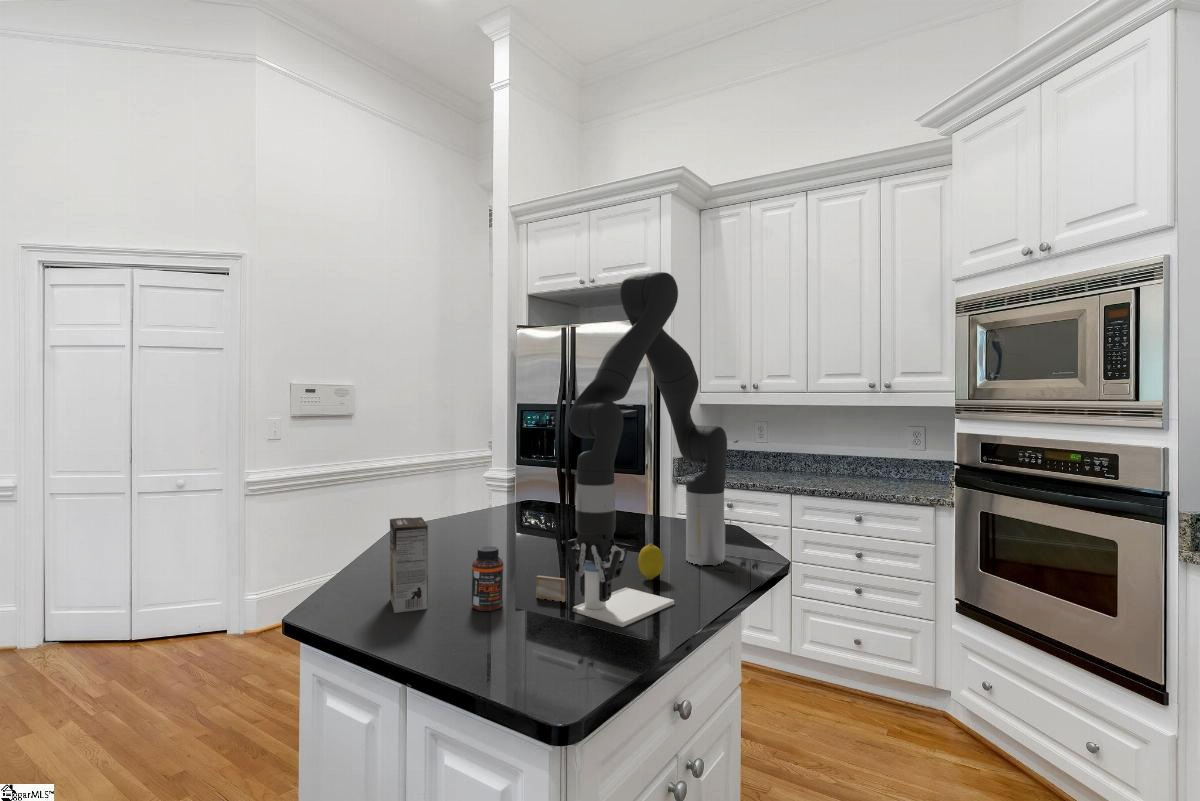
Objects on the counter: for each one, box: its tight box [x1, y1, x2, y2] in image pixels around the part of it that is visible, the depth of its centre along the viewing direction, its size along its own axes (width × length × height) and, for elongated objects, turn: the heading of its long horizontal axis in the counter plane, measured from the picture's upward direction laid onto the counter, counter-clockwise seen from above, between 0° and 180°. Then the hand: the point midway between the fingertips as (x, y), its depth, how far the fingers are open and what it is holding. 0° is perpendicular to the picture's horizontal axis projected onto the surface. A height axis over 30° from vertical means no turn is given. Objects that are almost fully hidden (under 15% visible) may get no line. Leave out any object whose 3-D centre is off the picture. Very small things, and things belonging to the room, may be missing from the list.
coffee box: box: [389, 516, 429, 614], centre depth 121 cm, size 9×6×16 cm
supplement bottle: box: [471, 545, 504, 612], centre depth 119 cm, size 6×6×11 cm
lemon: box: [637, 543, 664, 581], centre depth 137 cm, size 6×6×8 cm
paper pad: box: [572, 587, 675, 628], centre depth 119 cm, size 16×12×1 cm
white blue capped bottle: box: [584, 561, 606, 609], centre depth 117 cm, size 4×4×8 cm
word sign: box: [535, 575, 566, 603], centre depth 123 cm, size 1×6×4 cm, turn 69°
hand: (595, 597), depth 117 cm, fingers closed on white blue capped bottle, 4 cm apart
